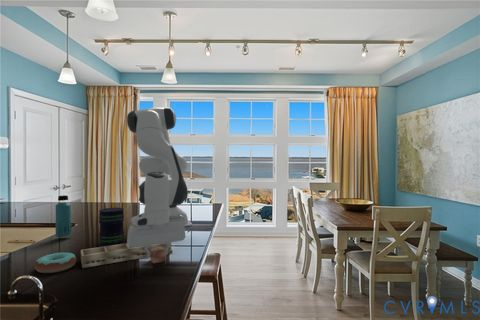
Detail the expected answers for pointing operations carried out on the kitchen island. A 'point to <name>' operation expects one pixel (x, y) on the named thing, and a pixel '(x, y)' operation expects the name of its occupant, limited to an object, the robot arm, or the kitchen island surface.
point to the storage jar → (111, 226)
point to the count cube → (157, 255)
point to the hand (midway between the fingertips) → (157, 256)
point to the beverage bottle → (63, 217)
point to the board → (115, 254)
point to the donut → (55, 262)
